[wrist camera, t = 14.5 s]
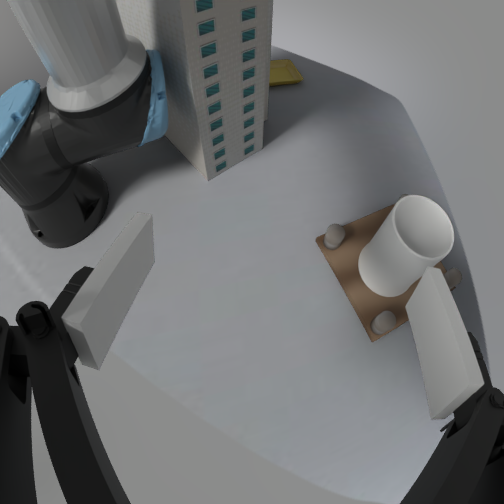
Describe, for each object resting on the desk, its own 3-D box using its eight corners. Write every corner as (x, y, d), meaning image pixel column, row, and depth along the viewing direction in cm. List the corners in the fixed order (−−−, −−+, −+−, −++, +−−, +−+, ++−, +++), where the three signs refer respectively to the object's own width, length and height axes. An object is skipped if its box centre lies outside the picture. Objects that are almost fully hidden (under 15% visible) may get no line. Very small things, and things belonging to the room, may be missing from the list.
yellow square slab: (289, 65, 64) (289, 58, 62) (303, 86, 60) (304, 79, 58) (251, 69, 63) (251, 62, 61) (263, 91, 59) (263, 83, 57)
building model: (286, 134, 54) (304, -30, 26) (208, 181, 49) (178, -5, 22) (218, 83, 60) (208, -50, 33) (148, 118, 56) (110, -23, 29)
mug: (408, 224, 45) (444, 177, 34) (437, 272, 42) (482, 234, 31) (346, 253, 43) (375, 206, 32) (377, 308, 40) (418, 275, 29)
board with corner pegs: (315, 240, 45) (320, 226, 41) (398, 204, 48) (408, 190, 44) (372, 342, 39) (383, 336, 35) (452, 289, 42) (466, 280, 38)
